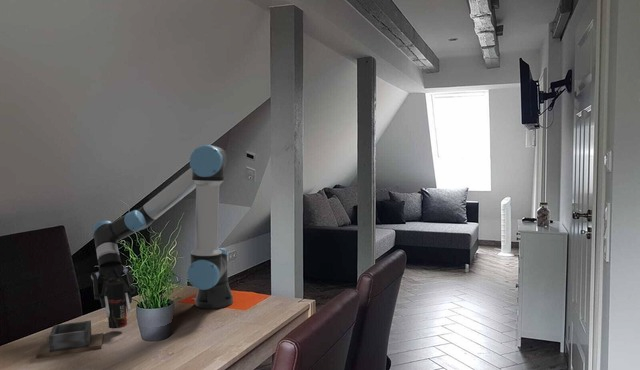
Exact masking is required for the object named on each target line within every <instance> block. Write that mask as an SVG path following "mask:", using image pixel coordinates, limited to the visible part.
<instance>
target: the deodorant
mask: <svg viewBox="0 0 640 370" xmlns="http://www.w3.org/2000/svg"><path fill="white" fill-rule="evenodd" d="M124 281H125V280H124ZM124 281H117V280H112V281H108V283H107V284H106V296H107V299H108V305H109V311H110V315H109V317H107V320H108V322H107V323H108V328H109V329H114V330H115V329H121V328H125V327H126V326H127V325H128V319H127V314H128V313H127V308H126V297H125V283H126V281H125V282H124Z"/></svg>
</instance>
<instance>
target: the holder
mask: <svg viewBox="0 0 640 370" xmlns="http://www.w3.org/2000/svg"><path fill="white" fill-rule="evenodd" d="M103 338H104V332H101V333H100V332H99V333H95V334H92V320H86V321H77V322H68V323H62V324H61V323H60V324H54V325H53V327H52V328H51V330H50V333H49V335H48V340H44V341H42V342H41V345H40V347H39V349H38V350H37V353H36V355H35V356H36V359H40V358H46V357H52V356H59V355H66V354H72V353H73V354H74V353H80V352H85V351H86V352H87V351H92V350H100V349H102V345H103V340H104V339H103Z"/></svg>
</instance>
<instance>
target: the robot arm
mask: <svg viewBox="0 0 640 370" xmlns="http://www.w3.org/2000/svg"><path fill="white" fill-rule="evenodd" d="M228 158H229V157H228V155H227V153H226V151H225V150H224V149H223V148H222V147H220V146H217V145H212V144H202V145H201V146H200V145H199V146H198V147H197V148H195V149H194V150H193V151H192V153H191V154H190V156H189V169H187V170H186V171H185V172H183V173H182V174H181V175H179V177H178V178H176V179H175V180H173V181H172V182H171V183H170V184H168V185H167V186H166V187H164V188H163V189H162V190H161V191H160V192H158V193H157V194H156V195H155V196H154V197H152V198H151V199H150V200H148V201H147V202H146V203H145V204H144V205H143V206H141V207H139V208H138V209H133V210H132V211H129V212H127V213H126V214H124V215H123V216H121V217H119V218H117V219H116V220H114V221H110V220H102V221H98V222H95V224H94V225H93V228H92V232H93V233H92V234H93V235H92V237H93V240H94V245H95V246H94V247H95V251H96V258H97V264H98V271H96V272H95V271H93V272H91V274H90V278H91V281H92V283H93V284H92V285H93V297H94V298H93V299H94V300H95V301H97V300H99V302H100V304H101V309H105V314H106V318H108V317H109V315H110V311H109V305H108V299H107V295H106V293H107V290H106V284H107V283H109V282H112V281H124V282H125V297H126V314H130V313H131V305H130V304H131V303H132V301H133V299H132V295H134V294H135V293H136V286H135V287H134V286H131V284H132V283H133V282H134V279H133V275H132V274H131V275H132V276H131V275H130V274H129V273H128V272H129V271H130V268H129V267H128V268H125V267H124V266H123V265H122V261H121V256H120V251H119V247H118V243H119V241H121V240H124V239H125V238H127V237H129V236H131V235H132V234H134V233H137V232H140V231H142V230H145V229H147V228H148V227H150V226H151V225H152V223H154V222H155V220H157V219H158V218H160V217H161V216H162V215H164V214H165V213H166V212H167V211H168V210H169V209H171V208H172V207H173V206H175V205H176V204H178V203H179V202H180V201H181V200H182V199H184V197H186V196H187V195H189V194H190V193H191V192H193V191H194V190H195V220H194V221H195V224H194V225H195V227H194V229H195V231H194V233H195V234H194V235H195V236H194V247H193V249H192V250H191V251H190V260H189V261H190V263H189V264H190V265H189V267H188V269H187V274H186V275H187V280H188V282H189V284H191V285H192V286H193V287H194V288H195V289H197V293H196V296H195V302H194V303H195V307H196V308H198V309H206V310H212V309H220V308H225V307H228V306H230V305H232V304H233V303H234V297H233V293H232V290H231V288H230V285H229V272H228V270H229V269H228V256H229V255H228V249H226V248H225V247H219V224H220V223H219V220H220V219H219V218H220V215H219V214H220V208H219V207H220V186H221V185H222V183H224V181H225V179H224V178H225V176H224V175H225V170H226V169H227V166H228V163H229V162H228V161H229V159H228ZM133 228H134V230H133ZM134 231H135V232H134ZM120 239H121V240H120ZM123 273H124V275H125V276H126V280H127V282H128V284H127V283H126V281H125V279H124V278H123ZM99 277H101V278H102V279H103V283H102V288H101V292H100V293H99V286H98V285H99V283H98V279H99ZM128 285H129V286H128Z"/></svg>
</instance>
